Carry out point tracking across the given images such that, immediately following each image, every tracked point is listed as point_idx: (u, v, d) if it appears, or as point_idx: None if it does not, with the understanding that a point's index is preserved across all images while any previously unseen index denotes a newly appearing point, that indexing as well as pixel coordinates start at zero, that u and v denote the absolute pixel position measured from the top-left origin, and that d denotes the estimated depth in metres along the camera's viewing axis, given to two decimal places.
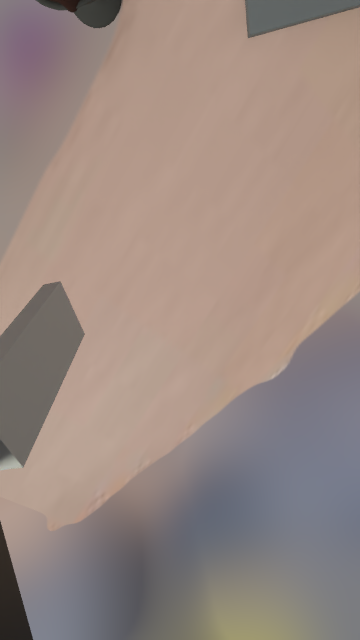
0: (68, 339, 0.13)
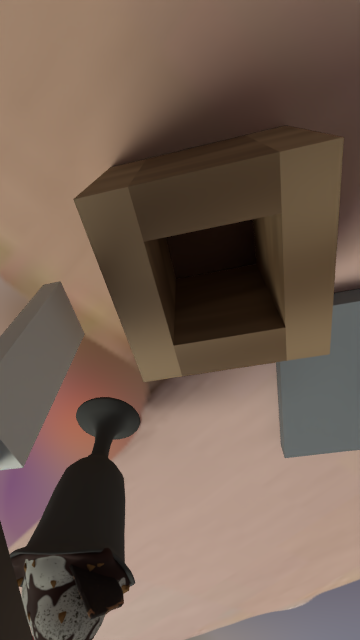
0: (68, 339, 0.13)
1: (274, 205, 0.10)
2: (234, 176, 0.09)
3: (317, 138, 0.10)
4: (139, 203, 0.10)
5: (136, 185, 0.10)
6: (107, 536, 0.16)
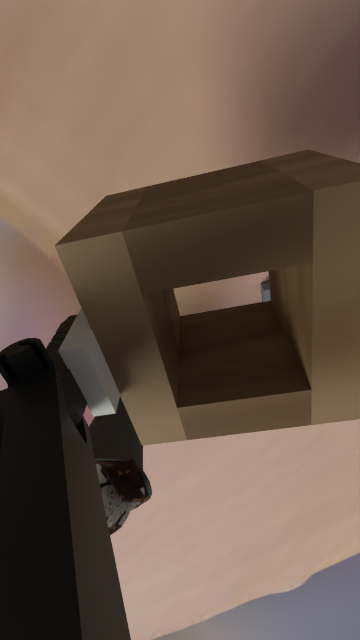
0: None
1: (304, 253, 0.08)
2: (255, 219, 0.07)
3: (358, 172, 0.08)
4: (136, 250, 0.08)
5: (132, 229, 0.08)
6: (131, 456, 0.21)
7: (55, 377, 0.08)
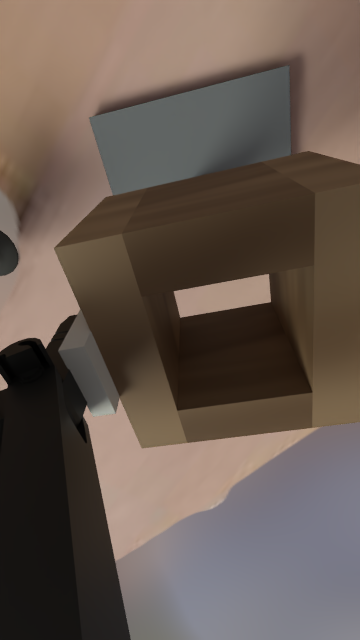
0: None
1: (305, 256, 0.08)
2: (256, 221, 0.07)
3: None
4: (136, 253, 0.08)
5: (132, 232, 0.08)
6: None
7: (55, 377, 0.08)
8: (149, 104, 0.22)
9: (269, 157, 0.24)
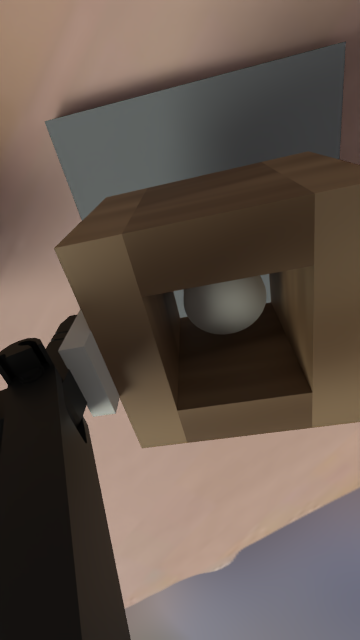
0: None
1: (305, 256, 0.08)
2: (256, 221, 0.07)
3: None
4: (136, 253, 0.08)
5: (132, 232, 0.08)
6: None
7: (55, 377, 0.08)
8: (133, 102, 0.15)
9: None
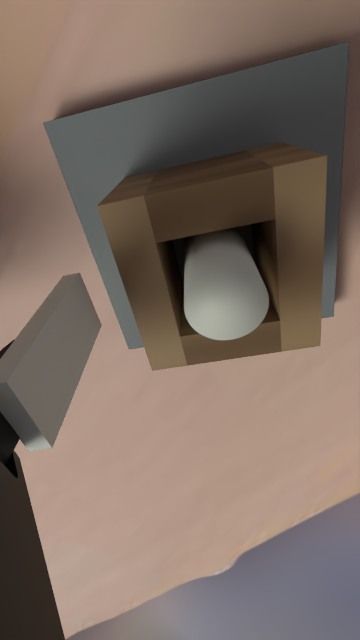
0: (87, 329, 0.13)
1: (269, 212, 0.11)
2: (235, 187, 0.11)
3: (305, 155, 0.11)
4: (153, 210, 0.11)
5: (151, 194, 0.11)
6: None
7: None
8: (133, 103, 0.15)
9: None
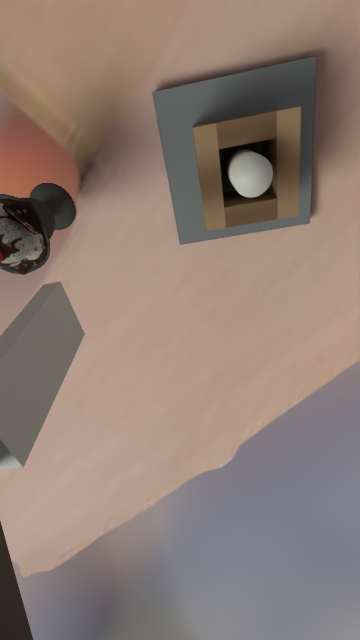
0: (68, 339, 0.13)
1: (274, 134, 0.24)
2: (259, 120, 0.24)
3: (291, 107, 0.24)
4: (219, 130, 0.24)
5: (219, 122, 0.24)
6: None
7: None
8: (202, 83, 0.28)
9: None
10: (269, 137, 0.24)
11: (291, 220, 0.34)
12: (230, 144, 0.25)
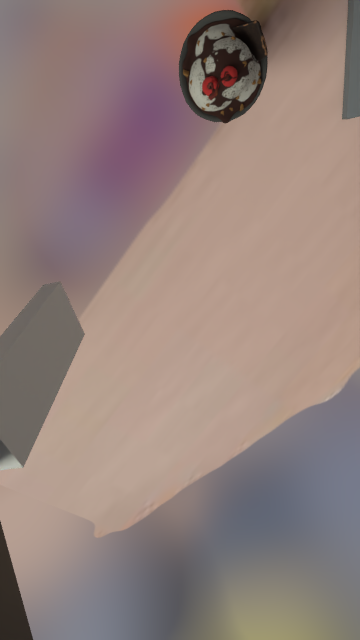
0: (68, 339, 0.13)
1: None
2: None
3: None
4: None
5: None
6: None
7: None
8: None
9: None
10: None
11: None
12: None
